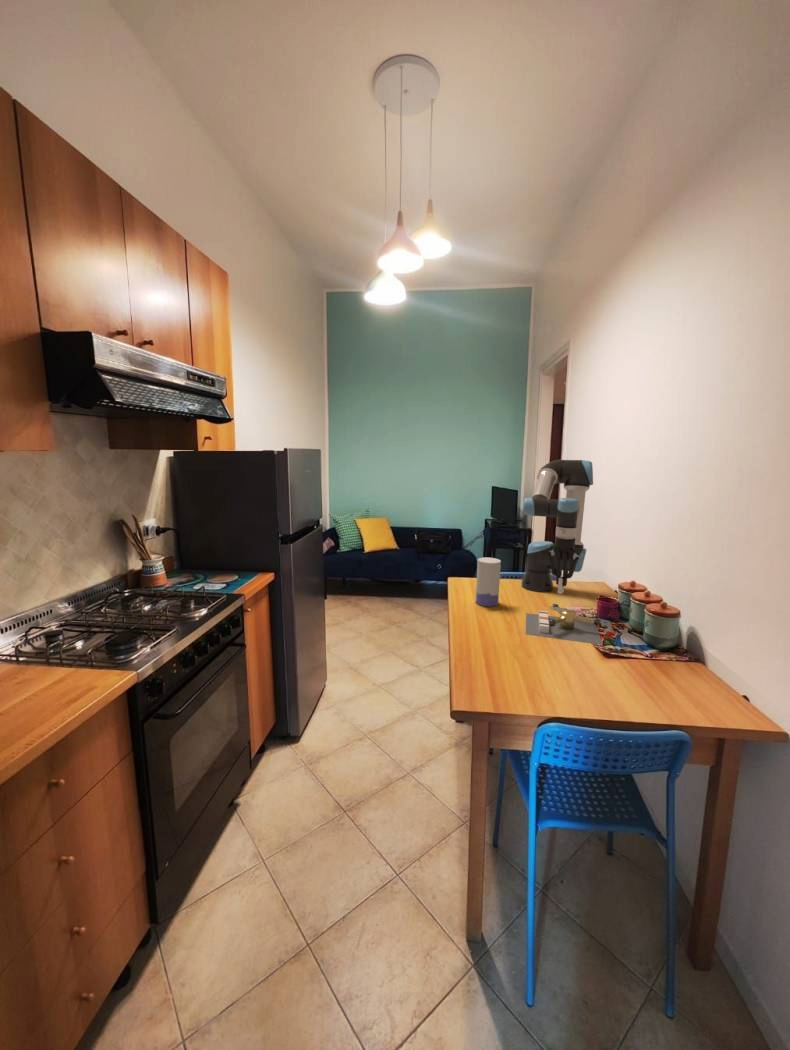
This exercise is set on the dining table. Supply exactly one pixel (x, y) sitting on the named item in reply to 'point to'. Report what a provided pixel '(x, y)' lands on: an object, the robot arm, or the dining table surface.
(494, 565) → the container
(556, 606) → the gold quadcopter drone
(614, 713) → the dining table surface
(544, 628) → the stand
